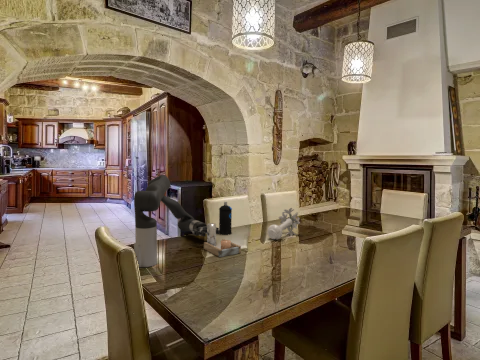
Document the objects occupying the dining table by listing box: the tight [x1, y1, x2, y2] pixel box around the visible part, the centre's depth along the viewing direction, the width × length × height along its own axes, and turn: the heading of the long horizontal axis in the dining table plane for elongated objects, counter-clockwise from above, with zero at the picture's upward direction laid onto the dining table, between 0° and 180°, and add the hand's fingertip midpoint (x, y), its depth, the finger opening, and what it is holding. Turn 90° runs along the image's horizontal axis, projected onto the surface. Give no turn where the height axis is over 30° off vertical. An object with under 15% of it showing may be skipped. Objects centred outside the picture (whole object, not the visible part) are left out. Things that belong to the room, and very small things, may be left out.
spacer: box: [220, 239, 231, 250], centre depth 162 cm, size 5×5×6 cm
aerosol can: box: [218, 201, 233, 236], centre depth 201 cm, size 8×8×20 cm
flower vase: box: [267, 207, 301, 241], centre depth 195 cm, size 13×18×25 cm
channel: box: [203, 238, 242, 258], centre depth 165 cm, size 12×16×4 cm
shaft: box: [206, 222, 217, 247], centre depth 174 cm, size 5×5×12 cm
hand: (212, 233), depth 173 cm, fingers open, 8 cm apart
